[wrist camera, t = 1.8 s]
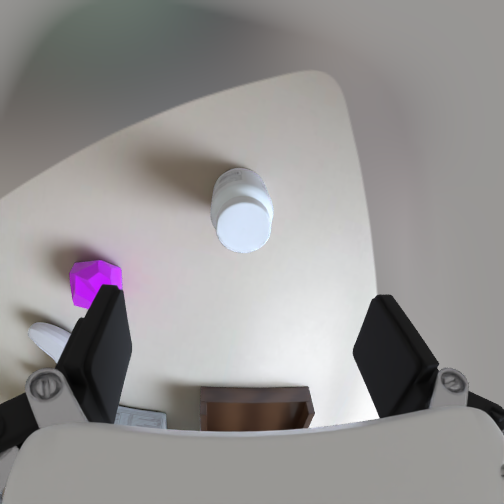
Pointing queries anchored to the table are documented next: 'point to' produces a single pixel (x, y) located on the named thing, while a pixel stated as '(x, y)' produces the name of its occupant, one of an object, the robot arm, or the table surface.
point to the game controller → (49, 338)
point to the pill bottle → (241, 210)
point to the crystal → (92, 280)
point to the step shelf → (255, 409)
